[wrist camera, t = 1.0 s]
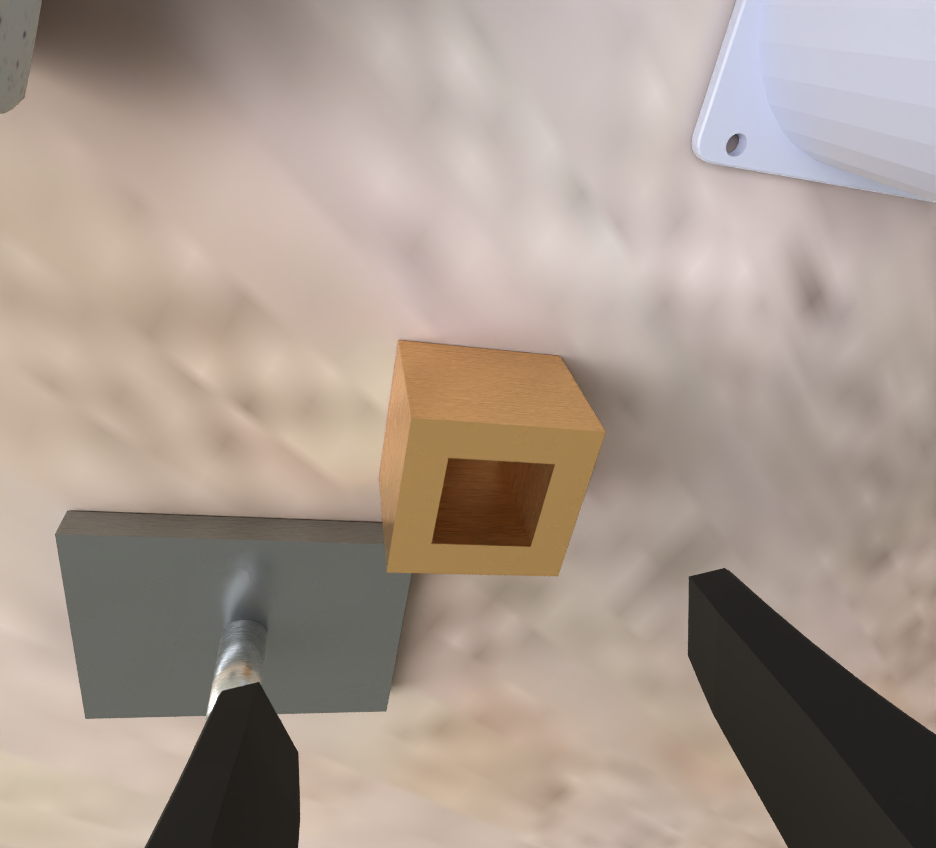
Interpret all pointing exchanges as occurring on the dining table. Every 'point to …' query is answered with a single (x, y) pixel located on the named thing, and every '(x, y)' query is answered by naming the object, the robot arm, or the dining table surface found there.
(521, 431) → the wooden block with hole
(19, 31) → the ceramic mug
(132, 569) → the flat gray rectangular block
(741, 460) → the dining table surface
